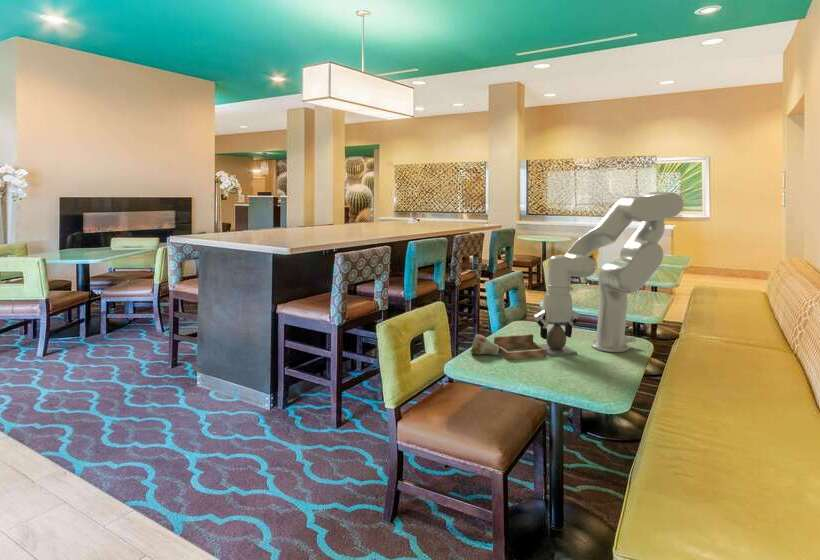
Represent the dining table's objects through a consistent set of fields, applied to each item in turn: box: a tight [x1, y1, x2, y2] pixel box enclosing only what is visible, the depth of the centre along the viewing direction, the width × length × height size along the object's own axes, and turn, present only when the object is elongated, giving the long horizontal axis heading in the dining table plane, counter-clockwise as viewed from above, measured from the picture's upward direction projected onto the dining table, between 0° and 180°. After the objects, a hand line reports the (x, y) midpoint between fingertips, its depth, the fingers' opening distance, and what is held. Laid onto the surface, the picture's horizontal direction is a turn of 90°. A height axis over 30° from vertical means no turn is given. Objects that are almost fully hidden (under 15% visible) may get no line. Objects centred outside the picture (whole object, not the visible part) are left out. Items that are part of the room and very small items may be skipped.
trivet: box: [539, 343, 578, 357], centre depth 190 cm, size 11×11×1 cm
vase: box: [545, 323, 567, 350], centre depth 189 cm, size 7×7×9 cm
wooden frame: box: [493, 333, 548, 361], centre depth 186 cm, size 15×11×5 cm
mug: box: [470, 333, 499, 356], centre depth 185 cm, size 8×10×10 cm
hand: (555, 337), depth 189 cm, fingers open, 9 cm apart
